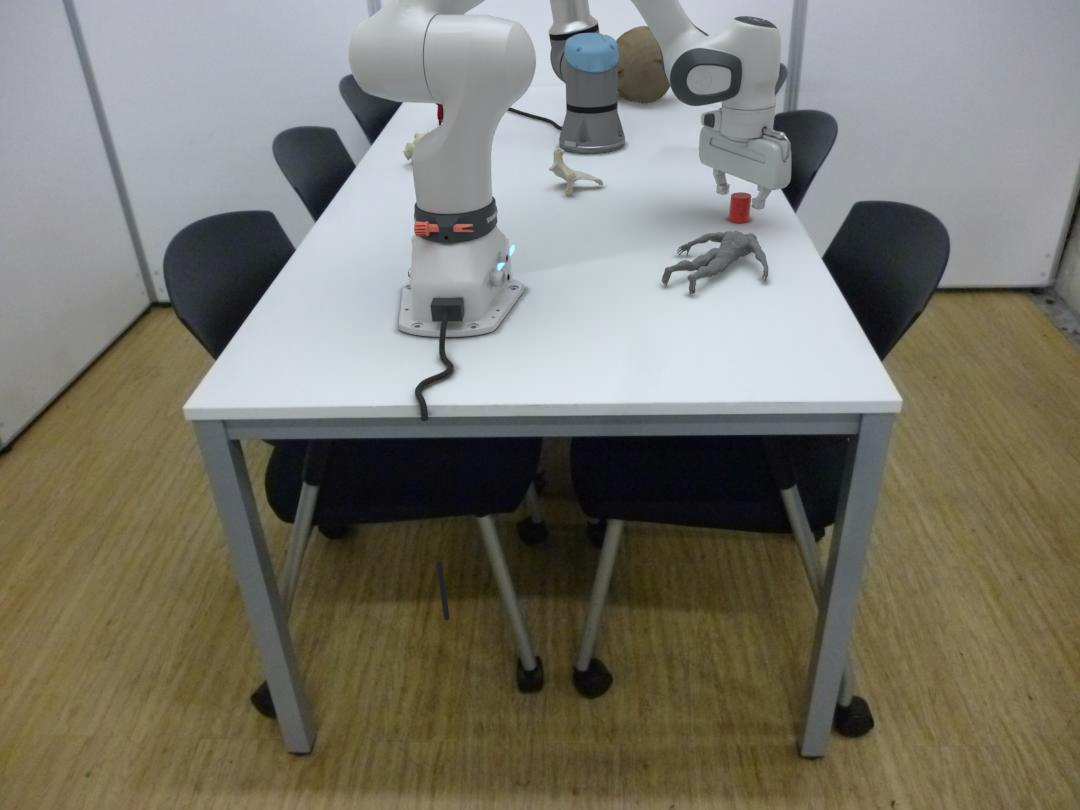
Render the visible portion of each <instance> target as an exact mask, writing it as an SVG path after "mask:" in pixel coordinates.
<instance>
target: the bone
mask: <svg viewBox="0 0 1080 810" xmlns="http://www.w3.org/2000/svg"><path fill="white" fill-rule="evenodd" d="M564 153H565V151H564V150H563V149H561V148H560V147H555V148H554V150H553V153H552V154H553V163H552V165H551V166H550V167H548V168H547V169H548V171H550V172H552V173H553V174H554V175H555V176H556V177H558V178H560V179H562V180H564V181H565V182H566V188H565V190H564V193H565V195H566V196H570V195H572V193H573V192H574V190H573V187H574V184H575V183H576V182H577V181H581V180H583V181H591V182H595V183H596V184H598V185H599V186H603V185H604V181H603V180H602V179H600V178H597V177H595V176H593V175H591V174H589V173H586V172H583V171H580V170H579V171H578V170H574V169H572V168H570V167H568V166H567V165H566V164H565V162H564V158H563V156H564Z"/></svg>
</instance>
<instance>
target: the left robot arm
mask: <svg viewBox="0 0 1080 810" xmlns="http://www.w3.org/2000/svg"><path fill="white" fill-rule="evenodd" d="M485 1H486V0H388V1H387V2H386V3H385V4H384V6H382V7H381V8H380V9H379V10H378V11H377V12H375V13H373V14H372V15H371V16H370V17H368V18H366V19H365V20H363V21H361V22H360V23H358V25H357V26H356V27H355V29H354V31H353V33H352V36H351V38H350V42H349V46H348V63H349V67H350V68H349V69H350V71H351V74H352V76H353V78H354V80H355V82H356V84H357V85H358V86H359V88H360V89H361V90H362V91H363V92H364V93H365V94H367V95H370V96H374V97H377V98H380V99H385V100H388V101H392V102H396V103H414V104H415V103H416V104H417V103H418V104H435V103H439V104H442V105H443V111H444V117H443V123H441V125H442V126H441V125H440V126H439V125H438V127H436V128H434V129H432V130H431V131H428V132H426V133H427V134H426V135H424V136H423V137H422V138H421V139H420V140H419V141H418V142H417V143H416V145H415V147H414V149H413V152H412V157H411V158H410V160H411V168H412V176H413V184H414V192H415V193H414V194H415V199H416V202H415V203H414V209H413V210H414V211H413V222H414V223H413V232H414V235H413V236H412V237H411V246H412V247H411V248H412V250H411V262H410V263H411V266H410V269H408V271H407V277H408V278H409V279H410V280H408V281H405V282H404V283H403V284H402V292H401V299H400V308H399V309H400V310H399V318H398V329H399V331H401V332H403V333H406V334H410V335H415V336H421V337H422V336H423V337H434V338H435V337H437V338H439V339H438V340H439V341H438V354H439V358H440V360H441V362H442V363H443V364H444V365H445V366H446V367H447V368H446V369H445V370H443V371H441V372H439V373H436V374H434V375H431V376H429V377H427V378H424V379H423V380H421V381H420V382H419V383H418V384H417V385H416V387H415V389H414V395H415V398H416V400H417V402H418V405H419V409H420V416H421V417H420V419H421V422H427V421H428V420H429V411H428V406H427V401H426V399H425V397H424V395H423V394H422V391H423V390H424V388H425V387H427V386H428V385H431V384H433V383H435V382H438V381H441V380H443V379H445V378H447V377H448V376H450V375H451V374H452V373H453V371H454V367H455V366H454V364H453V362H452V361H451V360H450V359H449V358H448V357H447V355H446V338H458V337H459V338H460V337H473V336H479V335H484V334H489V333H492V332H494V331H496V330H497V328H498V327H499V326H500V324H502V322H503V320H504V319H505V318H506V316H507V315H508V314H509V312H510V311H511V309H512V308H513V307H514V306H515V304H516V303H517V301H518V300H519V298H520V297H522V295H523V293H524V292H525V287H524V283H523V282H522V281H519V280H517V279H514V277H513V268H512V259H511V256H512V254H514V252H515V250H516V248H515V247H516V246H515V244H512V245H511V247H510V241H509V238H508V237H507V236H506V235H505V234H504V233H503V232H502V231H501V230H500V228H499V227H498V225H497V224H498V206H497V201H496V198H495V196H493V185H492V183H493V182H492V151H493V141H494V138H495V134H496V132H497V129H498V126H499V124H500V123H501V120H502V118H503V117H504V115H505V114H506V113H507V111H508V109H509V108H510V107H511V108H512V106H513V105H514V104H515V103H516V102H518V101H519V100H520V99H521V98H522V97H523V96H524V95H525V94H526V92H527V91H528V90H529V88H530V87H531V84H532V82H533V80H534V77H535V74H536V67H537V55H536V50H535V45H534V43H533V40H532V38H531V36H530V34H529V32H528V31H527V30H526V28H525V27H524V26H523V25H522V23H520V22H519V21H515V20H511V19H507V18H504V17H500V16H494V15H491V14H466V13H468V12H469V11H471V10H472V9H474V8H476V7H478V6H479V5H481V4H483V3H484V2H485ZM630 2H631V3H632V4H633V5H634V7H635V8H636V9H637V11H638V13H639V14H640V16H641V17H642V19H643V21H644V23H645V24H646V26H648V27H649V29H650V30H651V32H652V34H653V35H654V37H655V39H656V41H657V43H658V45H659V47H660V50H661V58H662V67H663V72H664V75H665V77H666V79H667V81H668V82H669V84H670V89H671V91H672V93H673V96H675V97H676V99H677V100H678V101H680V102H681V103H683V104H685V105H686V106H690V107H702V106H708V105H713V104H717V103H721V107H720V108H717V109H714V110H710V111H705V112H703V113H702V114H701V115H700V124H701V125H702V126H703V127H701V129H700V133H699V139H698V140H699V141H698V158H699V161H700V163H701V164H702V165H703V166H707V167H709V168H712V175H713V178H714V180H715V184H716V191H715V193H716V194H718V195H720V196H725V195H729V193H730V186H731V185H730V183H727V182H728V180H727V176H726V174H728V175H730V176H732V177H736V178H738V179H741V180H744V181H746V182H749V183H750V184H754V185H757V187H756V188H757V189H756V191H757V192H758V193H757V196H756V197H753V198H752V197H751V208H752V209H754V210H757V211H761V210H764V209H765V207H766V201H767V200H766V199H768V197H769V196H770V194H771V192H772V191H778V190H782V189H785V188H787V187H788V186H789V185H790V183H791V180H792V149H791V145H792V144H791V141H790V139H789V138H788V137H787V135H786V133H785V132H783V131H777V130H775V129H774V125H775V116H776V107H777V99H776V86H777V83H778V80H779V77H780V68H781V54H782V53H781V52H782V50H781V49H782V41H781V40H782V39H781V33H780V30H779V28H778V26H776V24H774V23H773V22H772V21H769V20H767V19H764V18H761V17H756V16H748V15H740V16H736V17H734V18H732V20H731V21H730V22H729V23H727V24H726V25H724V26H723V27H721V28H720V29H718V30H717V31H715V32H713V33H711V34H709V33H707V32H705V31H704V30H703V29H700V28H699V27H698V26H696V25H695V24H694V23H693V22H692V21H691V19H690V18H689V16H688V15H687V13H686V11H685V9H684V8H683V6H682V4H681V2H680V1H679V0H630ZM435 566H436V573H437V579H438V585H439V593H440V600H441V607H442V614H443V620H444V621H449V620H450V609H449V602H448V601H449V600H448V595H447V587H446V582H445V573H444V567H443V561H438V562H436V563H435Z"/></svg>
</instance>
